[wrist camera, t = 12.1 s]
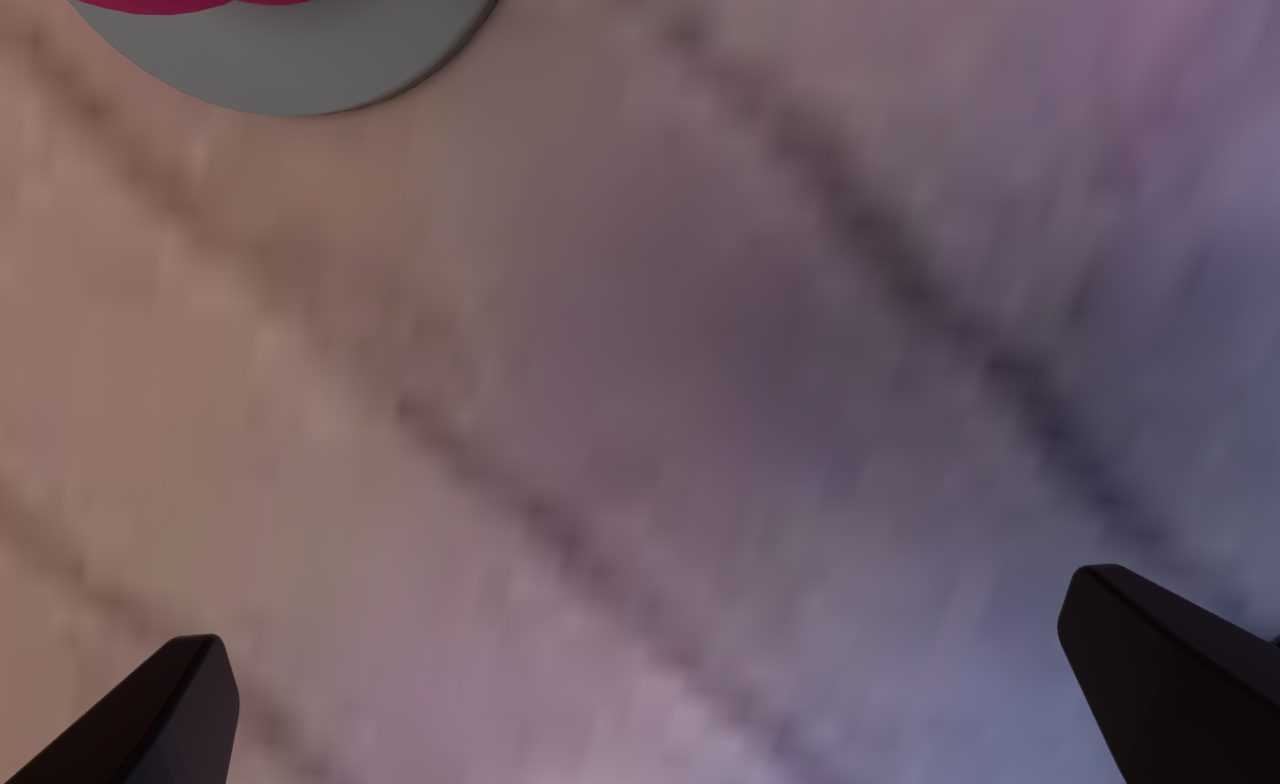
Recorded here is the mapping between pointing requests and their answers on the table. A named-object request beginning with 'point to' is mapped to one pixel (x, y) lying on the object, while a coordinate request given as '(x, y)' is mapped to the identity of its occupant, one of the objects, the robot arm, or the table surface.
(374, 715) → the table surface
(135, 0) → the pepper mill
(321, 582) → the table surface
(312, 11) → the slate coaster
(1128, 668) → the robot arm
